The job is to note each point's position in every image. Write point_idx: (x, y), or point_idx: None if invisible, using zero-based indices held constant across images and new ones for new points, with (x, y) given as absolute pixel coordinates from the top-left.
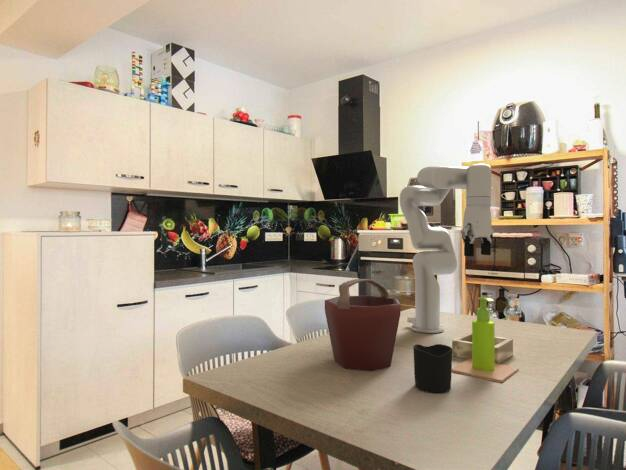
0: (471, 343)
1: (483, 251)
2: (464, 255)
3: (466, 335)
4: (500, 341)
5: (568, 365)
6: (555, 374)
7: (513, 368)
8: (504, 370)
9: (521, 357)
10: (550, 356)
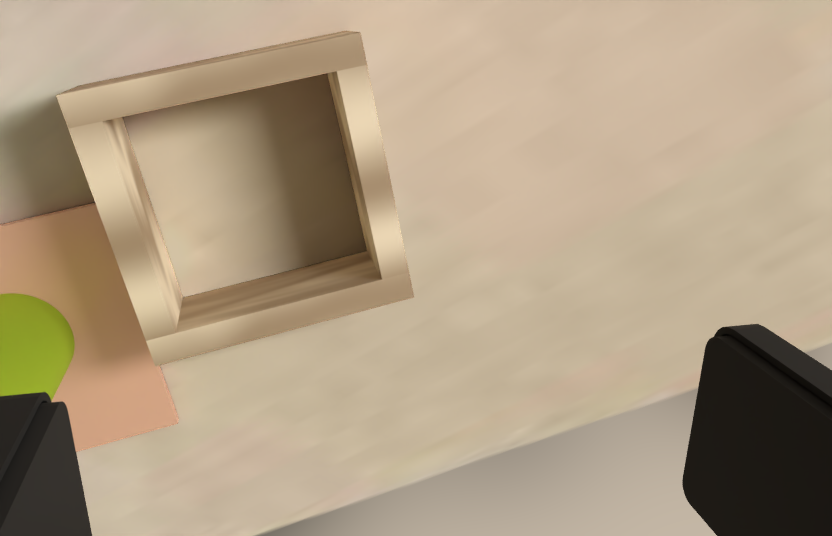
0: (104, 223)
1: (740, 418)
2: (4, 399)
3: (264, 72)
4: (371, 242)
5: (426, 477)
6: (256, 517)
7: (144, 419)
8: (76, 416)
9: (385, 314)
10: (507, 372)
